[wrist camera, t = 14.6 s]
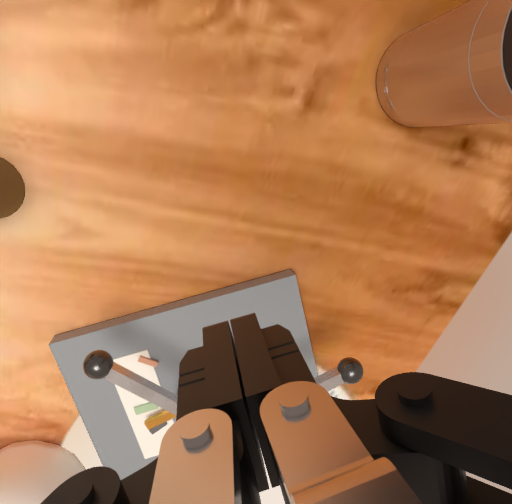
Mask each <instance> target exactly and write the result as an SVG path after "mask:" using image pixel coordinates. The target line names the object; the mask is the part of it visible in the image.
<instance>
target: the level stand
mask: <svg viewBox="0 0 512 504" xmlns="http://www.w3.org/2000/svg"><path fill="white" fill-rule="evenodd" d="M252 313H255V314H256V317H257V320H258V323H259V325H260V328H261V329H263V328H266V327H269V326H273V325H276V324H279V325H281V326H282V327H284V328H286V329H288V330H290V332H291V334H292V336H293V338H294V340H295V343H296V344H297V346H298V348H299V350H300V352H301V354H302V356H303V358H304V360H305V362H306V364H307V366H308V368H309V370H310V371H311V373H312V375H313V377H314V378H315V377H317V376H318V373H317V369H316V364H315V360H314V355H313V351H312V346H311V342H310V337H309V333H308V329H307V324H306V320H305V315H304V311H303V306H302V302H301V297H300V293H299V288H298V284H297V279H296V275H295V273H294V272H293V271H292V270H291V269H289V270H286V271H282V272H279V273H275V274H271V275H268V276H264V277H261V278H257V279H254V280H250V281H247V282H243V283H239V284H236V285H232V286H229V287H225V288H222V289H218V290H215V291H211V292H207V293H204V294H200V295H197V296H193V297H190V298H186V299H183V300H179V301H175V302H172V303H168V304H165V305H161V306H158V307H154V308H151V309H147V310H143V311H140V312H136V313H133V314H129V315H126V316H122V317H119V318H115V319H111V320H108V321H104V322H101V323H97V324H94V325H90V326H87V327H83V328H79V329H76V330H72V331H69V332H65V333H62V334H58V335H55V336H54V338H53V339H52V341H51V342H50V343H49V346H50V349H51V351H52V353H53V355H54V358H55V360H56V362H57V364H58V367H59V369H60V371H61V373H62V375H63V378H64V380H65V382H66V384H67V387H68V389H69V391H70V393H71V395H72V398H73V400H74V402H75V404H76V407H77V409H78V411H79V413H80V416H81V418H82V420H83V422H84V424H85V427H86V429H87V431H88V433H89V436H90V438H91V440H92V442H93V445H94V447H95V449H96V451H97V453H98V456H99V458H100V460H101V462H102V464H103V467H109V468H112V469H113V470H115V471H116V472H117V474H118V475H119V478H120V480H122V479H124V478H126V477H127V476H129V475H131V474H133V473H134V472H136V471H138V470H140V469H141V468H143V467H145V466H146V465H148V464H149V463H151V462H152V461H154V460H155V459H156V458H157V457H158V456H159V451H160V446H161V442H162V439H163V437H164V435H165V433H166V432H167V430H168V429H169V428H170V427H171V426H172V425H173V424H174V423H175V422H176V417H175V418H173V419H171V420H169V421H166V422H164V423H162V424H160V425H158V426H156V427H154V428H151V429H149V430H148V429H147V427H146V426H145V424H144V422H145V420H146V419H148V418H150V417H152V416H154V415H157V414H159V413H161V412H163V411H165V410H164V409H162V408H161V407H159V406H157V405H155V404H153V403H151V402H149V401H147V400H145V399H143V398H141V397H139V396H137V395H135V394H133V393H131V392H129V391H127V390H125V389H123V388H121V387H119V386H117V385H115V384H114V383H112V382H110V381H108V380H106V379H104V378H102V379H91V378H89V377H88V376H87V375H86V374H85V373H84V370H83V362H84V359H85V358H86V356H87V355H88V354H89V353H91V352H93V351H95V350H104V351H106V352H108V353H109V354H110V355H111V356H112V358H113V362H115V363H117V364H119V365H121V366H123V367H125V368H126V369H128V370H130V371H132V372H134V373H136V374H138V375H140V376H142V377H144V378H145V379H147V380H149V381H151V382H153V383H155V384H157V385H159V386H161V387H163V388H164V389H166V390H168V391H170V392H172V393H174V394H177V390H178V387H179V386H178V381H179V365H180V362H181V360H182V359H183V357H184V355H185V354H186V352H187V351H188V350H191V349H194V348H198V347H201V346H203V332H202V328H203V327H207V326H210V325H214V324H217V323H221V322H224V321H228V322H229V325H230V329H231V332H232V327H231V323H230V320H231V319H234V318H238V317H241V316H245V315H248V314H252ZM232 335H233V332H232ZM233 339H234V337H233ZM260 448H261V447H260Z"/></svg>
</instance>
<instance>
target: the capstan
mask: <svg viewBox="0 0 512 504" xmlns="http://www.w3.org/2000/svg"><path fill="white" fill-rule="evenodd" d="M83 370H84V373H85V374H86V375H87V376H88V377H89V378H91V379H102V378H104V379H106V380H108V381H110V382H112V383H114V384H115V385H117V386H119V387H121V388H123V389H125V390H127V391H129V392H131V393H133V394H135V395H137V396H139V397H141V398H143V399H145V400H147V401H149V402H151V403H153V404H155V405H157V406H159V407H161V408H162V409H164V410H165V411H163V412H161V413H159V414H157V415H154V416H152V417H150V418H148V419H146V420H145V422H144V424H145V426H146V427H147V429H148V430H149V429H151V428H154V427H156V426H158V425H160V424H162V423H164V422H166V421H169V420H171V419H173V418H175V417H176V414H177V398H178V390H177V394H174V393H172V392H170V391H168V390H166V389H164V388H163V387H161V386H159V385H157V384H155V383H153V382H151V381H149V380H147V379H145V378H144V377H142V376H140V375H138V374H136V373H134V372H132V371H130V370H128V369H126V368H125V367H123V366H121V365H119V364H117V363H115V362H113V358H112V356H111V355H110V354H109V353H108V352H106V351H104V350H95V351H93V352H91V353H89V354H88V355H87V356H86V358H85V359H84V362H83ZM362 376H363V367H362V365H361V363H360V362H359V361H358V360H356V359H354V358H350V357H348V358H344V359H342V360H341V361H340V362H339V364H338V367H336V368H334V369H332V370H330V371H328V372H326V373H324V374H321V375H319V376H317V377H315V378H314V379H315V381H316V383H317V384H318V385H320V386H322V387H323V388H325V389H326V391H329V390H331V389H333V388H335V387H337V386H339V385H341V384H344V382H345V383H347V384H355V383H357V382H359V381H360V380H361V378H362ZM178 388H179V387H178Z"/></svg>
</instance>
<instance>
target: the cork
mask: <svg viewBox="0 0 512 504" xmlns="http://www.w3.org/2000/svg"><path fill="white" fill-rule="evenodd" d="M24 196H25V186H24V182H23V180H22V177H21V175H20V173H19V172H18V171H17V169H16V168H15V167H14V166H13V165H12V164H11V163H9V162H8V161H6V160H5V159H3V158H1V157H0V218H3V217H7V216H10V215H11V214H13V213H14V212H16V211H17V210H18V208H19V207H20V206H21V204H22V203H23V199H24Z"/></svg>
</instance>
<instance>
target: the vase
mask: <svg viewBox="0 0 512 504" xmlns="http://www.w3.org/2000/svg"><path fill="white" fill-rule="evenodd" d="M84 470H85V468H84V466H83V465H82V464H81V462H80V461H79V460H78V458H77V457H76V456H75V454H73V453H71V452H69V451H68V450H66V449H64V448H63V447H61V446H59V445H58V444H53V443H48V442H43V441H38V440H32V441H23V442H15V443H11V444H9V445H7V446H5V447H3V448H1V449H0V504H40V503H41V502H43V501H44V500H45V499H46V498H47V497H48V496H49V495H50V494H51V493H52V492H53V491H54V490H55V489H56V488H57V487H58V486H59V485H61V484H62V483H63V482H65V481H66V480H67V479H69V478H70V477H72V476H74V475H75V474H77V473H79V472H81V471H84Z"/></svg>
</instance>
